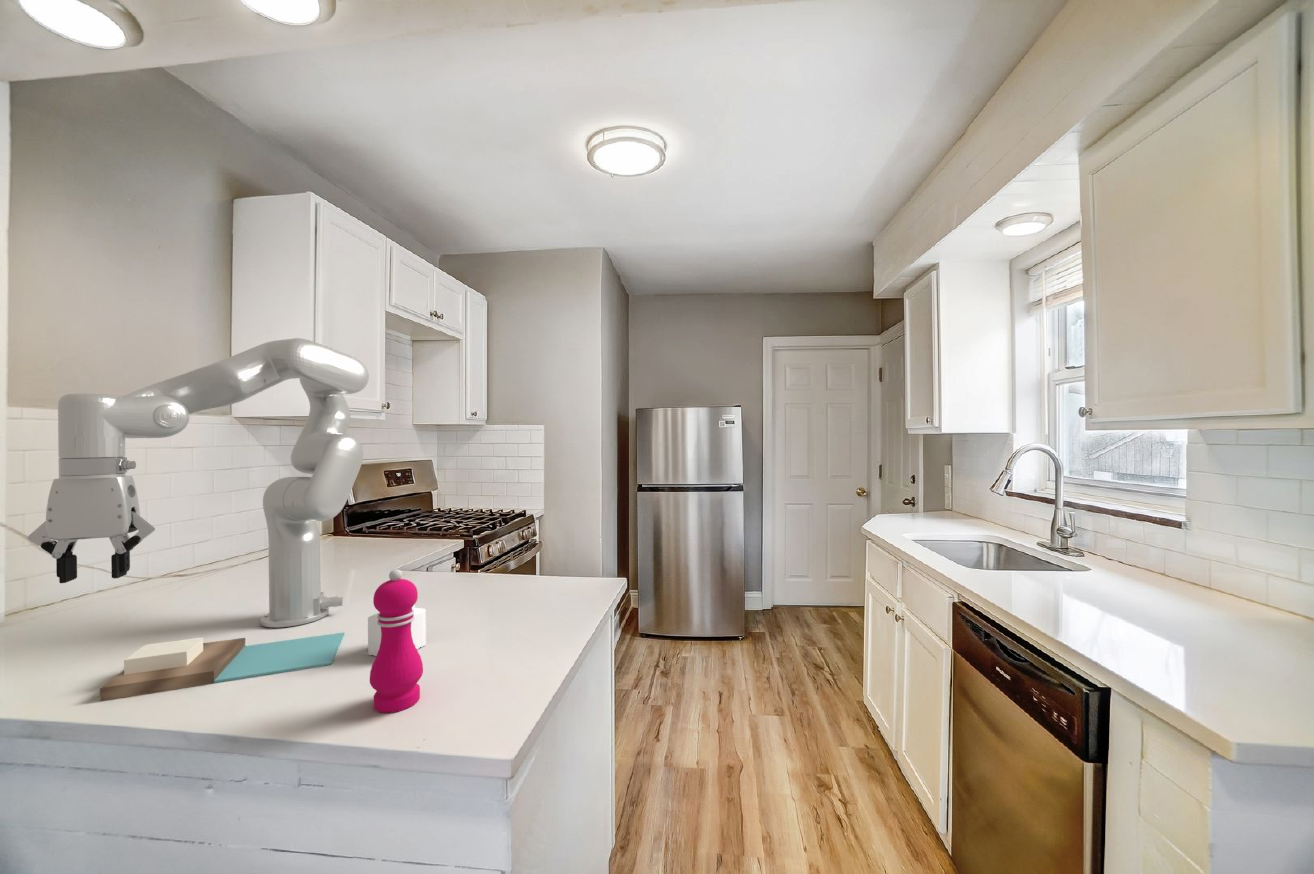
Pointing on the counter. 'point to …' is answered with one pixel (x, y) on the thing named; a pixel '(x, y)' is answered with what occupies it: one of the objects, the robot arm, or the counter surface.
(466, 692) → the counter surface
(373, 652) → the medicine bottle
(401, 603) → the pepper mill
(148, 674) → the board
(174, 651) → the block
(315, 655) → the mat
